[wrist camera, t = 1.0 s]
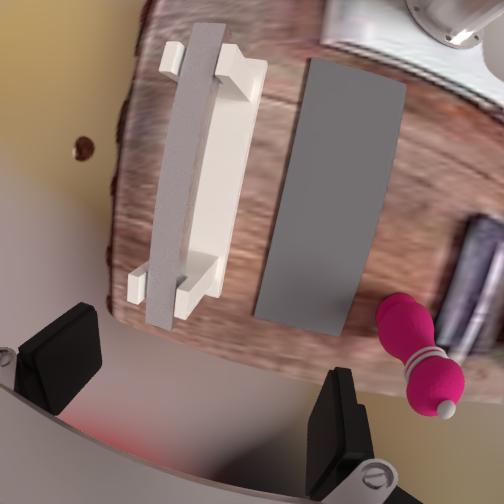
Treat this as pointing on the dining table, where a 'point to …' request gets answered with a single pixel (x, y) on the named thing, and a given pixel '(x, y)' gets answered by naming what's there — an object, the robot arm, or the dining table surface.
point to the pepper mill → (419, 356)
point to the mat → (331, 196)
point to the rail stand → (214, 175)
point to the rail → (182, 170)
